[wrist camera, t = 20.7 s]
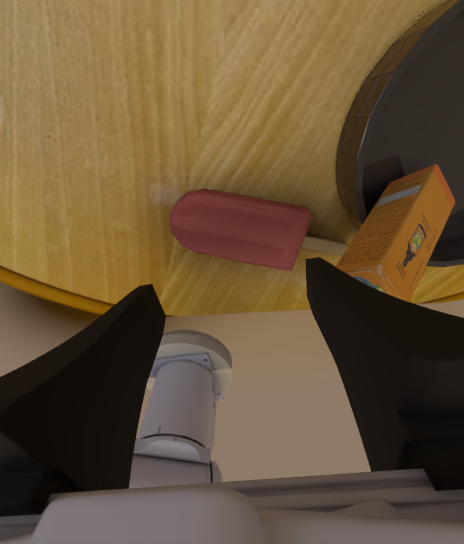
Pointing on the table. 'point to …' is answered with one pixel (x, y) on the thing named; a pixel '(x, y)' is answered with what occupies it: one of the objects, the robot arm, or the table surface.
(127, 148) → the table surface
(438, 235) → the supplement box
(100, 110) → the table surface
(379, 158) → the pan
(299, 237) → the popsicle
